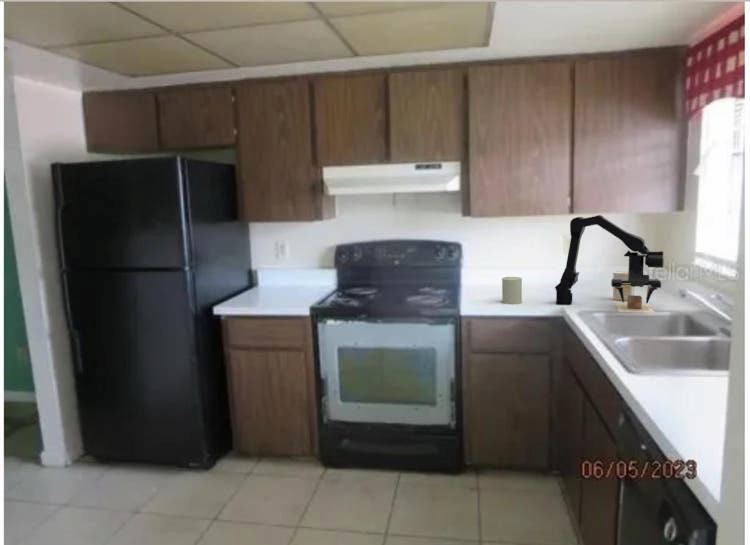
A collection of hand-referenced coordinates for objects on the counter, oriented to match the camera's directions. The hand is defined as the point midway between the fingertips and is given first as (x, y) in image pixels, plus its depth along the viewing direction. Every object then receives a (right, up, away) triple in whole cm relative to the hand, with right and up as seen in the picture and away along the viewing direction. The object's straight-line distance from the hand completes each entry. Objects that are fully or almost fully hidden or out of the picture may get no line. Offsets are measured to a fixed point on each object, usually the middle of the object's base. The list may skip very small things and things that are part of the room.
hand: (634, 302), depth 227 cm
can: (-47, -1, +23) cm, 52 cm away
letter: (0, -2, 0) cm, 2 cm away
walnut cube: (0, -2, 0) cm, 2 cm away
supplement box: (+4, 0, +18) cm, 18 cm away
